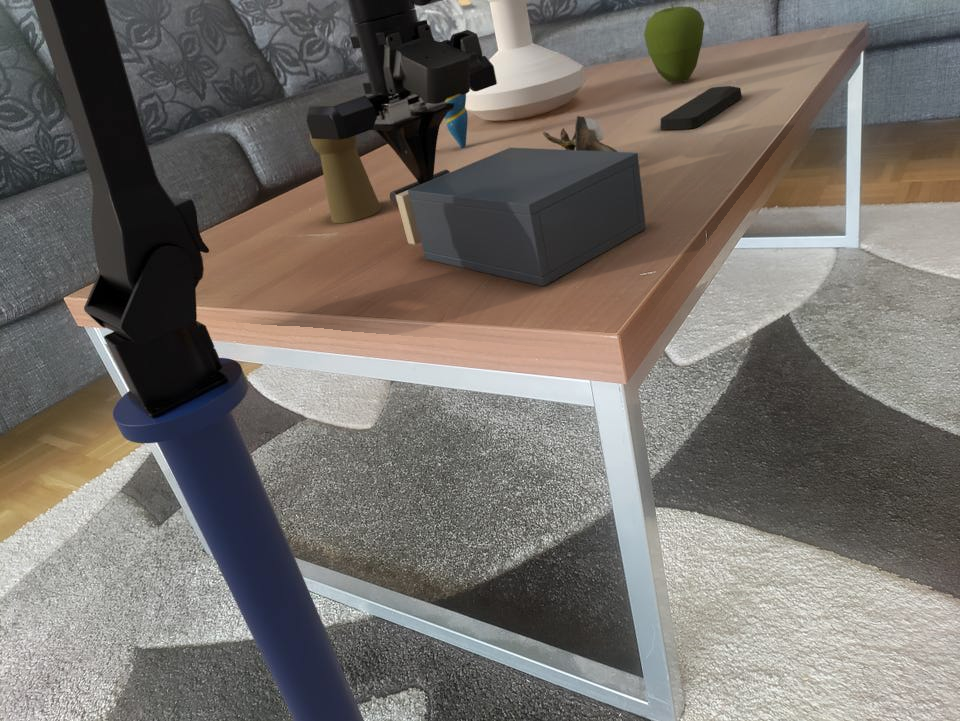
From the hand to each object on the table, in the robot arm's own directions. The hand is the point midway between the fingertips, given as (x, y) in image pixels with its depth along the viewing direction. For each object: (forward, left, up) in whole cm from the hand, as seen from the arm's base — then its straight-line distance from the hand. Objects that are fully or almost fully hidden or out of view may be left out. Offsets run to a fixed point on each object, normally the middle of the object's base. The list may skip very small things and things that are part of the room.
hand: (426, 184), depth 75 cm
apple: (+60, +14, -5) cm, 62 cm away
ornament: (+25, +26, -5) cm, 36 cm away
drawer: (0, -8, -4) cm, 9 cm away
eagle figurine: (+19, -4, -5) cm, 20 cm away
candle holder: (+44, +32, -5) cm, 55 cm away
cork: (0, +16, -5) cm, 17 cm away
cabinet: (0, -14, -5) cm, 15 cm away
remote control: (+42, -2, -5) cm, 43 cm away
